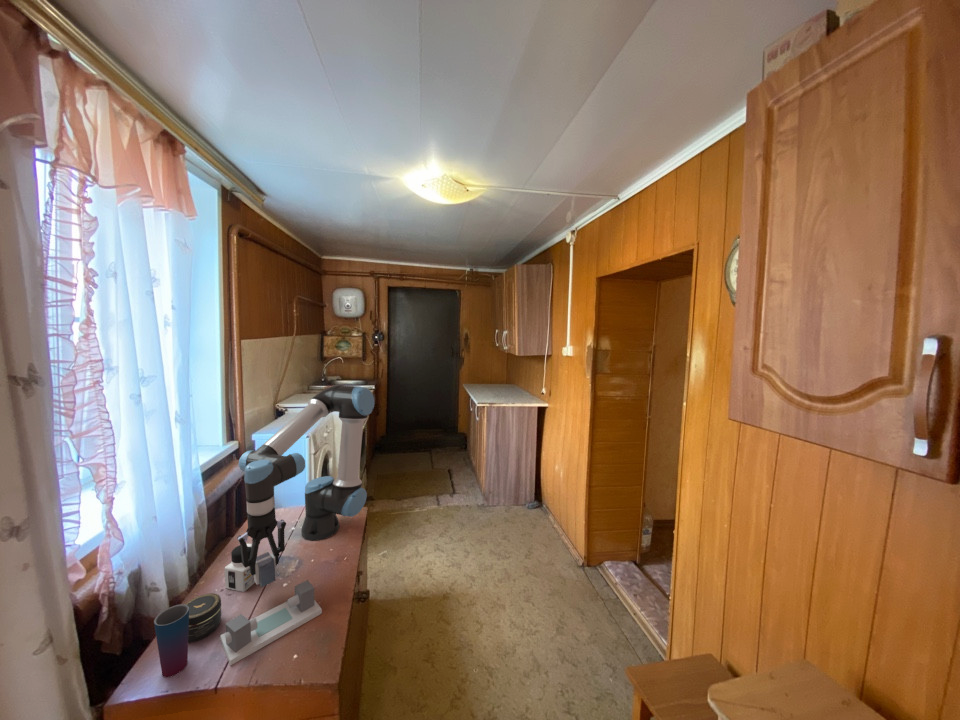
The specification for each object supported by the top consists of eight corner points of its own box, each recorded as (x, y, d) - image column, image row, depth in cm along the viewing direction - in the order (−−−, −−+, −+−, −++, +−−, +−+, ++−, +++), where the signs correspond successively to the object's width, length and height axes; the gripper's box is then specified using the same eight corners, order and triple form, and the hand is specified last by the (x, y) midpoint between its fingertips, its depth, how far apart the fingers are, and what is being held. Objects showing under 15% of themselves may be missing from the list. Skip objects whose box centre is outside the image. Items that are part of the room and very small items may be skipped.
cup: (196, 664, 93) (193, 611, 92) (163, 686, 87) (160, 630, 86) (185, 651, 97) (182, 600, 95) (152, 672, 91) (149, 617, 89)
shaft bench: (307, 594, 118) (307, 573, 117) (321, 613, 110) (321, 590, 110) (220, 640, 100) (219, 615, 100) (230, 665, 93) (229, 639, 92)
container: (244, 592, 118) (242, 556, 117) (224, 588, 120) (223, 552, 119) (262, 576, 126) (261, 542, 125) (244, 573, 127) (242, 539, 126)
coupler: (255, 577, 115) (254, 557, 114) (269, 571, 118) (268, 551, 117) (261, 587, 111) (259, 566, 110) (275, 580, 114) (274, 560, 113)
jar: (226, 628, 104) (224, 604, 104) (182, 651, 97) (180, 625, 96) (217, 610, 111) (216, 587, 110) (175, 629, 103) (174, 605, 103)
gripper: (286, 496, 120) (289, 559, 123) (225, 516, 108) (230, 586, 110) (294, 504, 115) (297, 570, 118) (231, 526, 103) (237, 599, 105)
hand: (265, 577), depth 114 cm, fingers closed on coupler, 4 cm apart
